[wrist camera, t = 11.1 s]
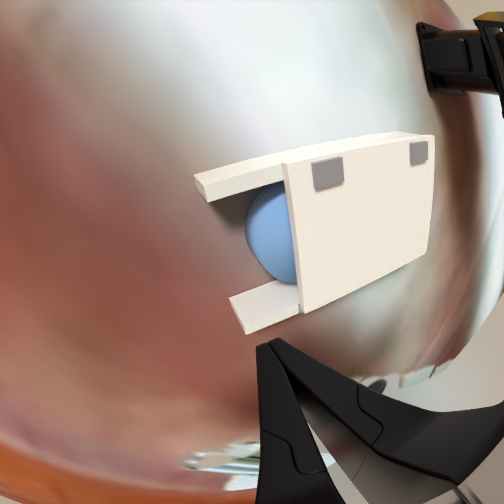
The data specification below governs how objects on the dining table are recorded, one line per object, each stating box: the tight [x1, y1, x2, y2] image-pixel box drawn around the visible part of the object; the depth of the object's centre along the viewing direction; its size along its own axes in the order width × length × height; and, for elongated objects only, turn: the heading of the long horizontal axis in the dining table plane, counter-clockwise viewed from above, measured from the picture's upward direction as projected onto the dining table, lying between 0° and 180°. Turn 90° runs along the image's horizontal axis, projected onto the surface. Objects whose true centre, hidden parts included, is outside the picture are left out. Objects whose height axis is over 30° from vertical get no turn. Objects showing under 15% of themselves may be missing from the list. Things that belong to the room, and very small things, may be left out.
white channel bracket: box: [194, 131, 419, 335], centre depth 17 cm, size 15×9×3 cm, turn 102°
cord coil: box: [245, 180, 297, 283], centre depth 17 cm, size 6×6×3 cm
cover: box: [281, 134, 435, 314], centre depth 15 cm, size 11×9×1 cm
